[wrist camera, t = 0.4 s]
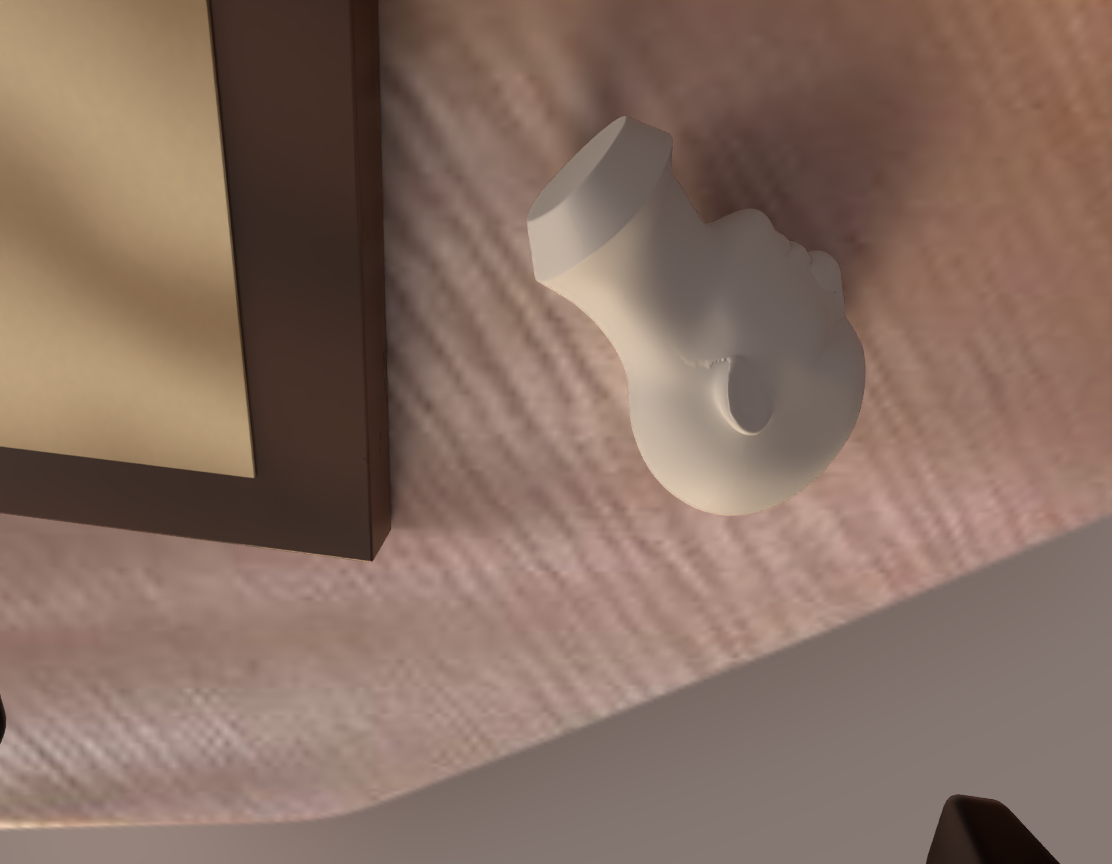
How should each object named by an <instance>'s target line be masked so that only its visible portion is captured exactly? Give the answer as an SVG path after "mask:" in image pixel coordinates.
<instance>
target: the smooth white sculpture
mask: <svg viewBox="0 0 1112 864" xmlns="http://www.w3.org/2000/svg"><path fill="white" fill-rule="evenodd" d="M672 143H673V140H672V136H671V135H670V134H669V133H667V132H665V131H662V130H660V129H657V128H655V127H652V126H650V125H647V124H645V123H642V122H640V121H637V120H635V119H632V118H630V117H627V116H622V117H620V118H618V119H616V120H615V121H613V122H612V123H610V124H609V125H608V126H607V127H605V128H604V129H603V130H602V131H601V132H599V133H598V134H597V135H596V136H595V137H594V138H593V139H591V140H590V141H589V142H588V143H587V144H586V145H585V146H584V147H583V148H582V149H581V150H580V151H579V152H578V153H576V154H575V155H574V156H573V157H572V158H571V159H570V160H569V161H568V162H567V163H566V164H565V165H564V166H563V167H562V168H561V169H560V171H559V172H558V173H557V174H556V175H555V176H554V177H553V178H552V179H551V180H550V182H549V183H548V184H547V185H546V186H545V188H544V189H543V190H542V191H541V193H540V194H539V195H538V197H537V198H536V200H535V202H534V203H533V205H532V207H531V209H530V211H529V213H528V216H527V227H528V234H529V241H530V248H531V255H532V262H533V269H534V276H535V279H536V280H537V281H538V282H539V283H541V284H543V285H544V286H546V287H548V288H550V289H551V290H553V291H555V292H556V293H558V294H560V295H562V296H563V297H565V298H566V299H568V300H569V301H571V302H572V303H574V304H575V305H576V306H578V307H579V308H580V309H581V310H582V311H584V312H585V313H586V314H587V315H588V316H589V317H590V318H591V319H592V320H593V321H594V322H595V323H596V324H597V325H598V327H599V328H600V329H601V330H602V331H603V332H604V334H605V335H606V336H607V338H608V339H609V340H610V342H611V343H612V345H613V346H614V348H615V350H616V351H617V353H618V355H619V357H620V359H621V361H622V363H623V366H624V369H625V372H626V377H627V385H628V402H629V413H630V419H631V425H632V429H633V433H634V436H635V440H636V443H637V445H638V448H639V450H640V453H641V455H642V457H643V459H644V461H645V463H646V464H647V466H648V468H649V469H650V471H651V472H652V473H653V475H654V476H655V477H656V479H657V480H658V481H659V482H660V483H661V484H662V485H663V486H664V487H665V488H666V489H667V490H668V491H669V492H670V493H672V494H673V495H674V496H676V497H677V498H678V499H680V500H681V501H683V502H685V503H686V504H688V505H690V506H692V507H694V508H697V509H699V510H702V511H705V512H708V513H712V514H718V515H744V514H751V513H755V512H758V511H762V510H765V509H768V508H771V507H774V506H776V505H778V504H780V503H782V502H784V501H786V500H788V499H790V498H791V497H793V496H794V495H796V494H797V493H799V492H800V491H801V490H803V489H804V488H805V487H807V486H808V485H809V484H810V483H811V482H813V481H814V480H815V479H816V478H817V477H818V476H819V475H820V474H821V473H822V472H823V471H824V470H825V469H826V468H827V467H828V466H829V465H830V464H831V462H832V461H833V460H834V459H835V457H836V456H837V455H838V453H839V452H840V450H841V449H842V447H843V446H844V444H845V442H846V441H847V439H848V437H849V436H850V434H851V432H852V430H853V428H854V425H855V423H856V420H857V418H858V415H859V412H860V408H861V404H862V400H863V394H864V386H865V357H864V351H863V347H862V344H861V342H860V340H859V338H858V336H857V334H856V332H855V330H854V329H853V327H852V326H851V324H850V323H849V321H848V320H847V318H846V317H845V302H844V294H843V289H842V277H841V271H840V268H839V265H838V263H837V261H836V260H835V259H834V258H833V257H832V256H831V255H830V254H828V253H826V252H823V251H808V252H807V250H806V249H805V248H804V246H802V245H801V244H799V243H797V242H793V241H789V240H788V239H787V237H786V236H785V235H783V234H781V233H779V232H777V231H776V230H775V229H774V227H773V225H772V223H771V221H770V220H769V218H768V217H767V216H766V215H765V214H764V213H763V212H761V211H760V210H757V209H743V210H739V211H736V212H734V213H731V214H728V215H726V216H724V217H722V218H719V219H717V220H715V221H712V222H710V223H704V222H703V221H702V220H701V218H700V216H699V215H698V213H697V211H696V210H695V208H694V206H693V205H692V203H691V201H690V200H689V198H688V196H687V195H686V193H685V191H684V190H683V188H682V187H681V185H680V183H679V182H678V180H677V179H676V177H675V175H674V173H673V171H672V169H671V163H672Z"/></svg>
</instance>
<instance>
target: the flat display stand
mask: <svg viewBox="0 0 1112 864" xmlns="http://www.w3.org/2000/svg"><path fill="white" fill-rule="evenodd" d="M0 513H3V514H11V515H18V516H26V517H33V518H41V519H48V520H56V521H64V522H71V523H79V524H86V525H94V526H101V527H109V528H116V529H124V530H131V531H139V532H146V533H154V534H161V535H169V536H176V537H184V538H191V539H199V540H207V541H214V542H222V543H229V544H237V545H244V546H252V547H259V548H267V549H274V550H282V551H289V552H297V553H304V554H312V555H319V556H327V557H334V558H342V559H350V560H357V561H365V562H372V561H373V560H374V558H375V557H376V555H377V553H378V551H379V550H380V548H381V546H382V544H383V543H384V541H385V539H386V537H387V536H388V534H389V532H390V530H391V514H390V474H389V435H388V395H387V355H386V316H385V276H384V237H383V197H382V157H381V118H380V78H379V39H378V0H0Z"/></svg>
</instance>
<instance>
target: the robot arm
mask: <svg viewBox="0 0 1112 864" xmlns="http://www.w3.org/2000/svg"><path fill="white" fill-rule="evenodd" d="M5 728H6V714H5V710H4V707H3V703H2V699H1V696H0V743H1V741H2V738H3V736H4V733H5ZM926 864H1060V863H1059V862H1058V861H1057V860H1056V859H1055V858H1054V857H1053V856H1052V855H1051V854H1050V853H1049V852H1048V850H1047V849H1046V848H1045V847H1044V846H1043V845H1042V844H1041V843H1040V842H1039V841H1038V840H1037V839H1036V838H1035V837H1034V836H1033V834H1032V833H1031V832H1030V831H1029V830H1028V829H1027V828H1026V827H1025V826H1024V825H1023V824H1022V823H1021V821H1020V820H1019V819H1018V818H1017V817H1016V816H1015V815H1014V814H1013V813H1012V812H1011V811H1010V810H1009V809H1008V808H1007V807H1006V806H1005V805H1003V804H1002V803H1001V802H999V801H997V800H993V799H987V798H980V797H973V796H966V795H959V794H957V795H953V796H951V797H949V799H948V800H947V801H946V803H945V805H944V807H943V811H942V813H941V816H940V819H939V823H938V826H937V829H936V832H935V835H934V838H933V841H932V844H931V847H930V851H929V853H928V857H927V862H926Z"/></svg>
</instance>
